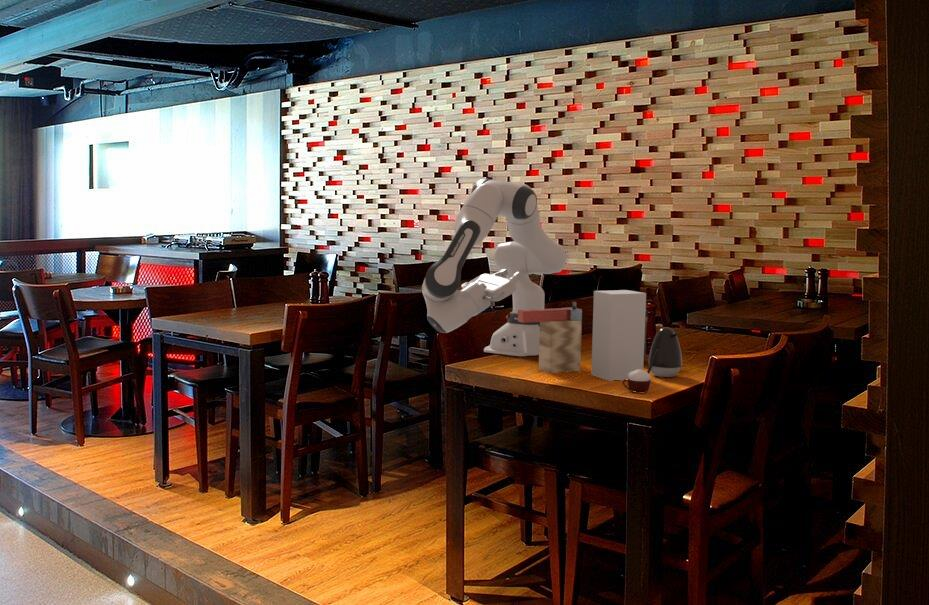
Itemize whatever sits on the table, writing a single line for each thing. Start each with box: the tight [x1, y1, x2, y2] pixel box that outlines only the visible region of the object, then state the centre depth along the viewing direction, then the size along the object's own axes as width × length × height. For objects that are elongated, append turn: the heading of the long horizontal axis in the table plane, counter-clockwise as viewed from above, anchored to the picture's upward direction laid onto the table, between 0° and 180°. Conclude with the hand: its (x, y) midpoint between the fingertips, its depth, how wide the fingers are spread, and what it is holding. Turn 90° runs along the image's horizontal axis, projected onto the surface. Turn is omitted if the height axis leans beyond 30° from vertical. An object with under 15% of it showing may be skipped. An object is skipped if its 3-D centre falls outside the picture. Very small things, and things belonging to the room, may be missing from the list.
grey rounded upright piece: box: [647, 326, 683, 378], centre depth 264 cm, size 10×10×15 cm
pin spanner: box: [518, 301, 583, 323], centre depth 268 cm, size 20×6×6 cm, turn 113°
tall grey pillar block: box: [590, 289, 647, 382], centre depth 261 cm, size 12×10×26 cm
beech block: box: [538, 320, 583, 374], centre depth 271 cm, size 11×7×16 cm, turn 113°
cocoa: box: [622, 349, 658, 393], centre depth 241 cm, size 10×6×12 cm, turn 65°
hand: (513, 272), depth 261 cm, fingers open, 8 cm apart
